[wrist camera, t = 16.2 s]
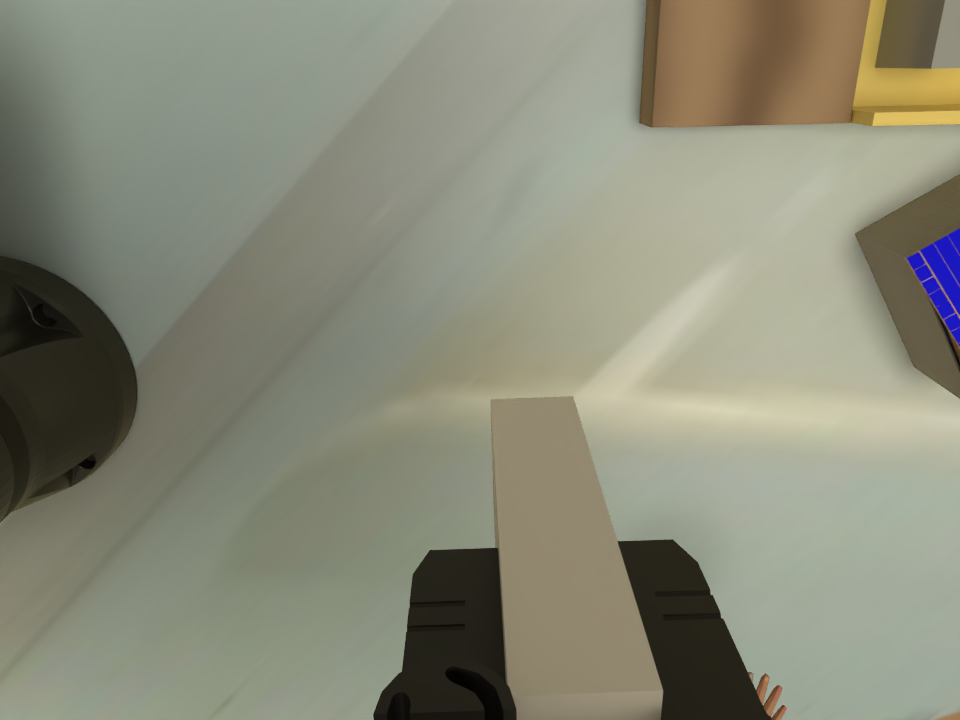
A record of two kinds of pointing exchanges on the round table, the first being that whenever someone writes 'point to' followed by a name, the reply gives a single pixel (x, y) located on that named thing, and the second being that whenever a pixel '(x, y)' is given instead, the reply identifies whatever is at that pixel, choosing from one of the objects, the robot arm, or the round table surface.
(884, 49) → the grey square block
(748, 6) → the walnut board
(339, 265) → the round table surface
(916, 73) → the yellow tray
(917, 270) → the house
